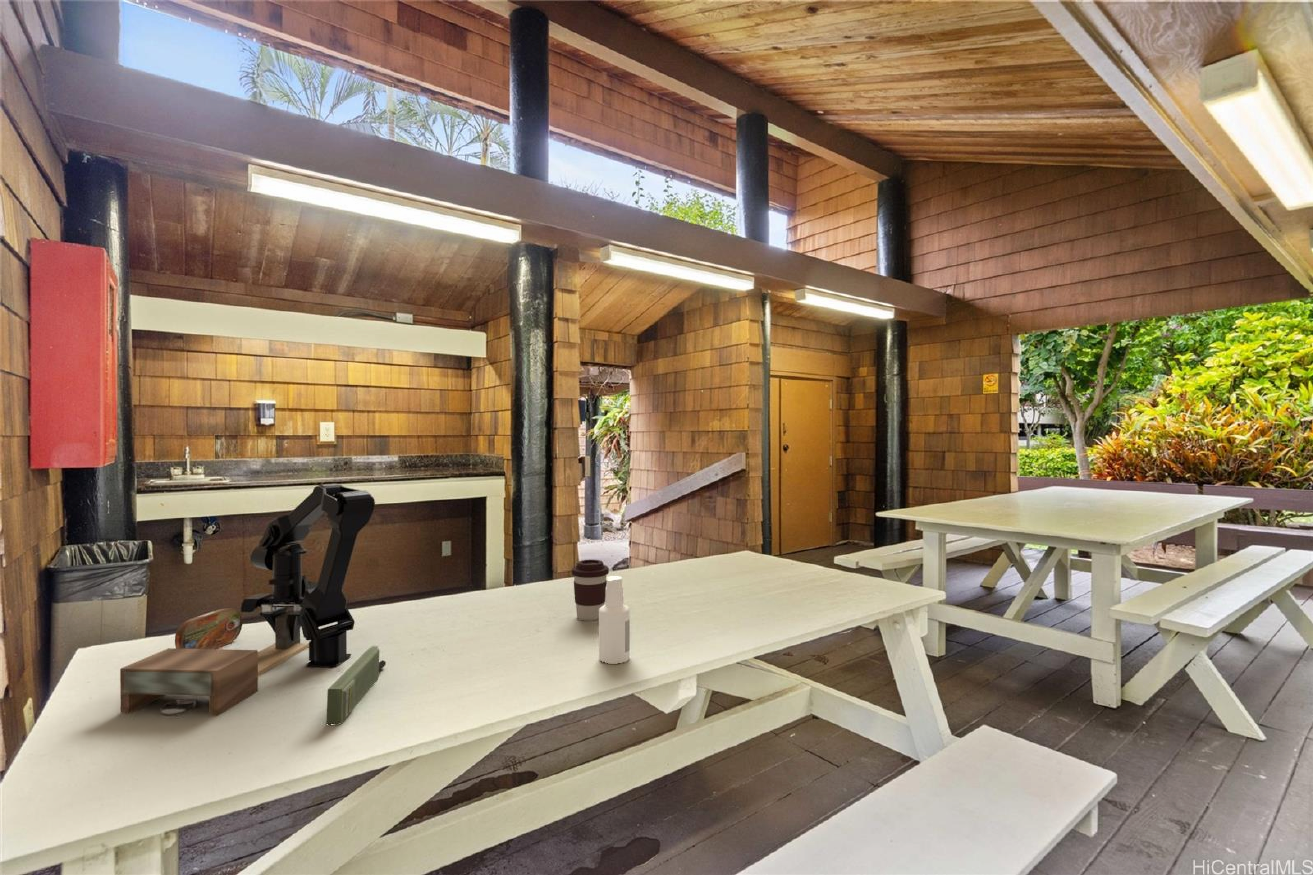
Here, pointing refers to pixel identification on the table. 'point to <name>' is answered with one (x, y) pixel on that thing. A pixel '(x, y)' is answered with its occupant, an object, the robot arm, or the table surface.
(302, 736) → the table surface
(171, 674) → the wooden bridge block
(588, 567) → the coffee cup
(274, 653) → the scraper
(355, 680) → the handheld radio
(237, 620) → the tin
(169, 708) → the token
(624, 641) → the spray bottle
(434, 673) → the table surface
